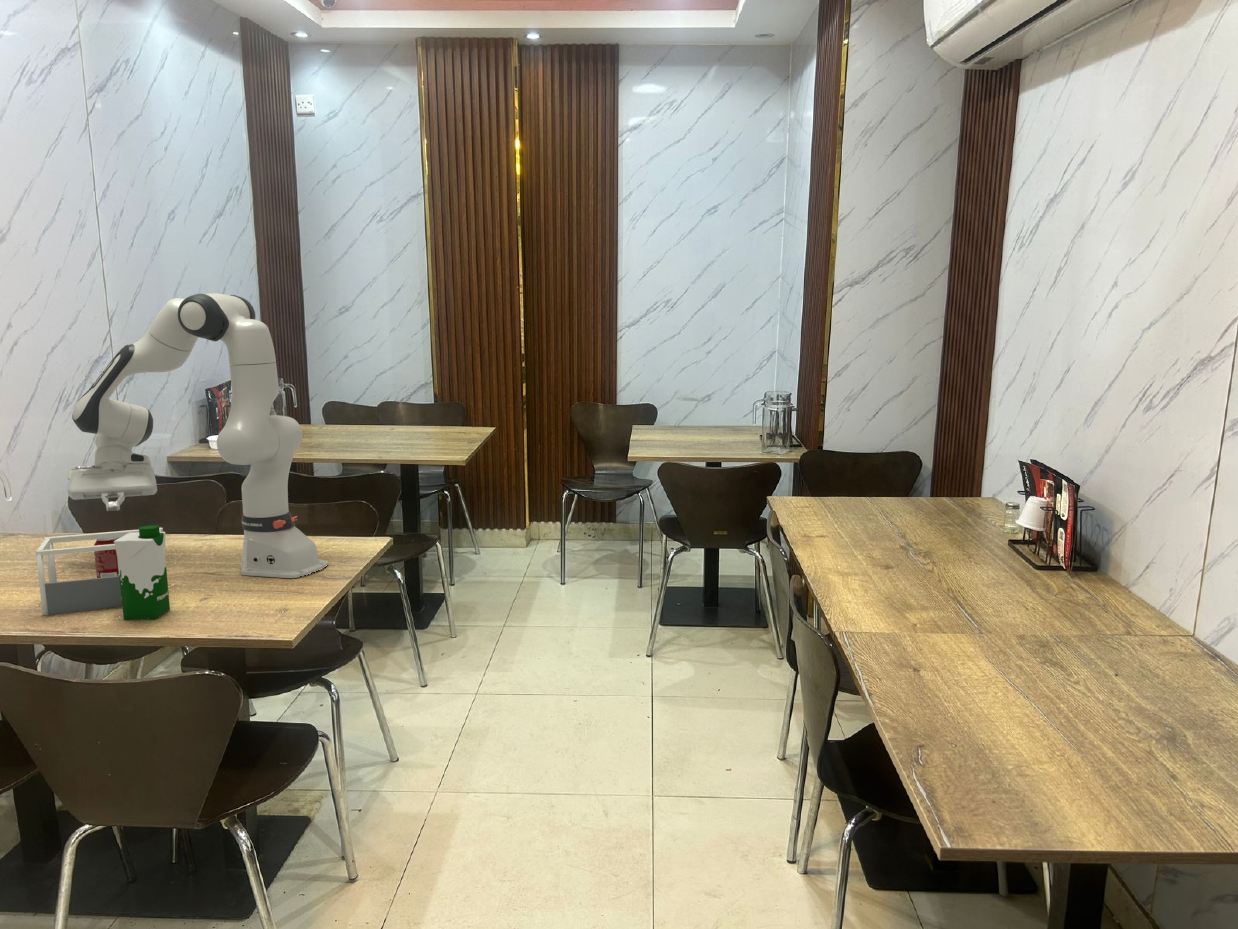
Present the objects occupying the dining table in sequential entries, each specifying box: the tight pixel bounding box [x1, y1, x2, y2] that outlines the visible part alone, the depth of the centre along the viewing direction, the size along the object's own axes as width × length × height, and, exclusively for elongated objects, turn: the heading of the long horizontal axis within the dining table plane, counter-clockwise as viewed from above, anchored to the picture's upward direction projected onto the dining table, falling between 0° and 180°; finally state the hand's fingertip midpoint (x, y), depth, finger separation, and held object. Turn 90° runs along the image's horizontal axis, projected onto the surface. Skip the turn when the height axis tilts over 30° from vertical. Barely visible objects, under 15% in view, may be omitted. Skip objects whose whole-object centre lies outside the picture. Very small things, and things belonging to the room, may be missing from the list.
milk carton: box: [114, 524, 171, 621], centre depth 205 cm, size 9×9×20 cm
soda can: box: [93, 537, 121, 578], centre depth 227 cm, size 7×7×12 cm
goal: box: [35, 527, 164, 616], centre depth 215 cm, size 13×25×15 cm, turn 113°
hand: (112, 509), depth 237 cm, fingers closed
